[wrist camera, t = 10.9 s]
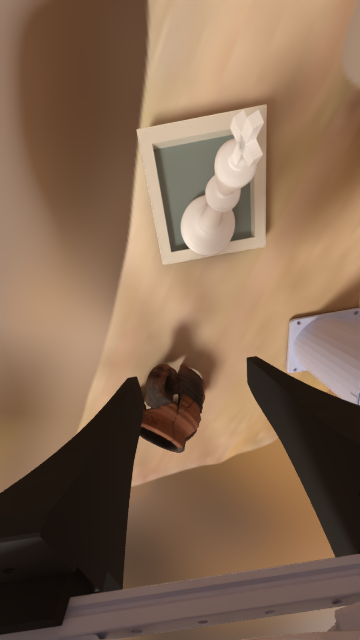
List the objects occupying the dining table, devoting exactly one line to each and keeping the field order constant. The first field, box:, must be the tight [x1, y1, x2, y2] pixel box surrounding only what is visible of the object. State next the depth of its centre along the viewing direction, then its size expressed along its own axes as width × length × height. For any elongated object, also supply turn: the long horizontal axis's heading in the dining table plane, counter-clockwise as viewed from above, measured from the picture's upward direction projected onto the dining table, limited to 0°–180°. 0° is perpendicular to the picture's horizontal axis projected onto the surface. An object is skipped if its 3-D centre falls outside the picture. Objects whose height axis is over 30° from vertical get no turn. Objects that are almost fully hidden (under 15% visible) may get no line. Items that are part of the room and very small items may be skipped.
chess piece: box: [181, 110, 264, 255], centre depth 11 cm, size 5×5×10 cm
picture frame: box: [137, 104, 267, 265], centre depth 16 cm, size 10×10×2 cm
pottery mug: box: [139, 364, 205, 453], centre depth 22 cm, size 12×10×8 cm
